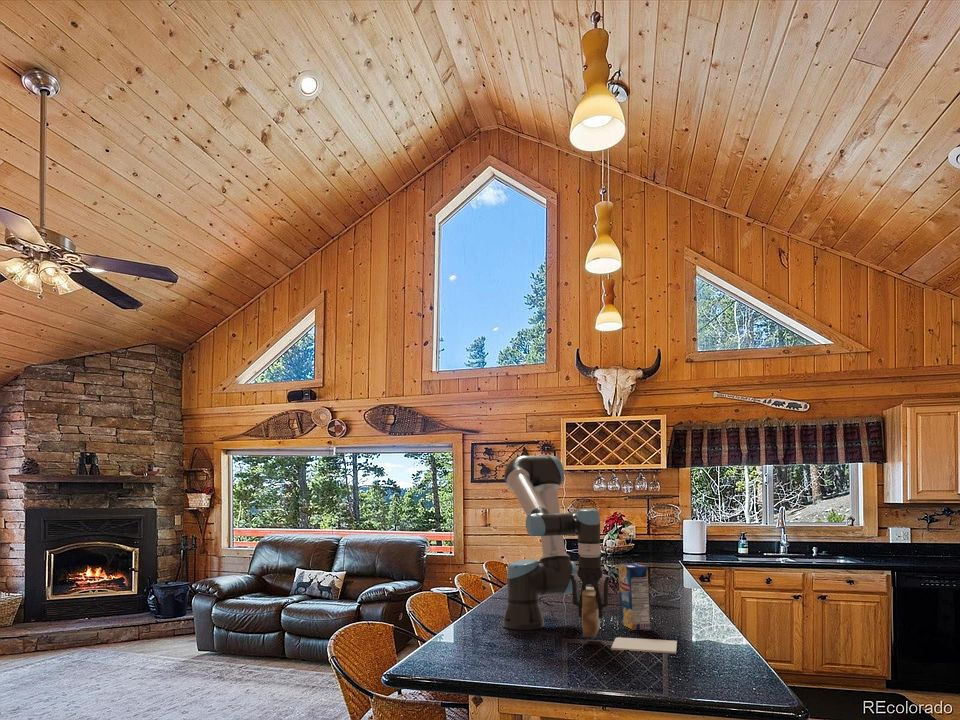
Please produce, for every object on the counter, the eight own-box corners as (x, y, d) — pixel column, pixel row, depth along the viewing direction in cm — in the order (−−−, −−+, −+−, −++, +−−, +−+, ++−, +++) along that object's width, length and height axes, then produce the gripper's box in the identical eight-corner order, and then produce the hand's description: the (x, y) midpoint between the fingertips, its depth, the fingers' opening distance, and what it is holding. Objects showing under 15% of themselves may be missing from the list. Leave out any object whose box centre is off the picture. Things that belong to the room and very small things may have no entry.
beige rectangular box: (582, 636, 229) (582, 592, 231) (587, 629, 238) (586, 586, 240) (595, 637, 228) (594, 592, 230) (599, 629, 237) (598, 587, 239)
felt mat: (611, 649, 223) (611, 647, 223) (615, 639, 237) (615, 637, 237) (676, 653, 217) (676, 651, 217) (677, 642, 231) (676, 640, 232)
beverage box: (632, 631, 249) (630, 567, 253) (620, 624, 260) (618, 563, 263) (650, 630, 250) (647, 566, 254) (637, 623, 261) (635, 563, 265)
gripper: (562, 556, 235) (563, 628, 232) (613, 558, 231) (615, 632, 227) (566, 553, 242) (567, 623, 239) (616, 555, 238) (618, 627, 234)
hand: (591, 627), depth 233 cm, fingers closed on beige rectangular box, 4 cm apart
